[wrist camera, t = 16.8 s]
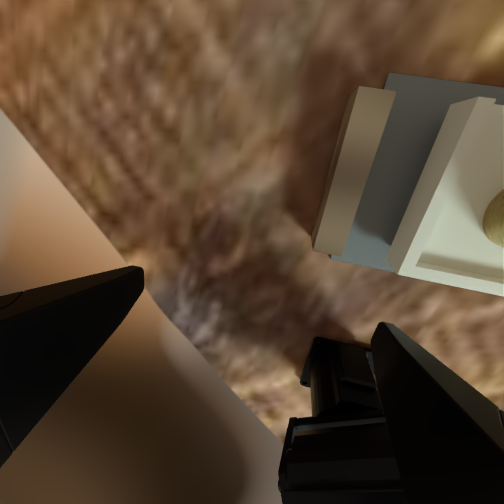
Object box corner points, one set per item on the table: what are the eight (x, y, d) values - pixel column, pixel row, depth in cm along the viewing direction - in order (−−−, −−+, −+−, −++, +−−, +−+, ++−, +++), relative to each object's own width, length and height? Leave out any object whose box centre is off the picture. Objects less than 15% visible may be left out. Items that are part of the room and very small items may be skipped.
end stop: (335, 241, 20) (341, 256, 17) (310, 236, 20) (313, 250, 17) (379, 100, 16) (396, 91, 13) (348, 96, 16) (359, 85, 13)
